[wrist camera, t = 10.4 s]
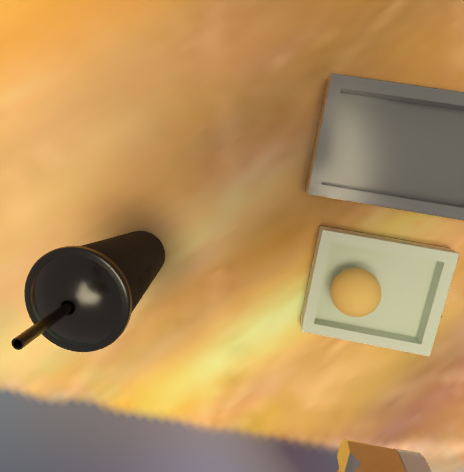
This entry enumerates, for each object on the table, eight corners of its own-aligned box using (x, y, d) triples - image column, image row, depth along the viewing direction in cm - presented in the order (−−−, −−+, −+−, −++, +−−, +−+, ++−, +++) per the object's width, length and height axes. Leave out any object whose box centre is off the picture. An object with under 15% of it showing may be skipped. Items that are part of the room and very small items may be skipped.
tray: (319, 225, 38) (322, 229, 36) (448, 247, 37) (459, 253, 35) (299, 321, 40) (301, 331, 38) (420, 344, 39) (429, 356, 37)
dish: (327, 80, 35) (331, 73, 33) (513, 107, 34) (535, 102, 31) (305, 190, 38) (307, 194, 35) (479, 220, 36) (497, 226, 33)
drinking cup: (142, 200, 40) (12, 245, 20) (193, 258, 40) (115, 355, 21) (91, 249, 41) (-76, 333, 22) (141, 303, 42) (22, 433, 22)
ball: (360, 261, 38) (325, 261, 36) (397, 277, 35) (361, 277, 33) (350, 304, 39) (316, 306, 37) (385, 323, 36) (349, 327, 33)
